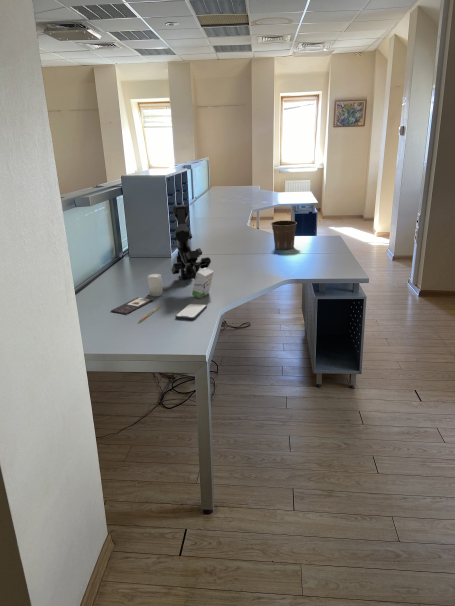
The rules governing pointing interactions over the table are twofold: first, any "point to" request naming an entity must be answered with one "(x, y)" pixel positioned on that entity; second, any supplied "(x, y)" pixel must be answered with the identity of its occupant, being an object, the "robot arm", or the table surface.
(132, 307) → the chocolate bar
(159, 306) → the pencil
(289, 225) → the plant pot
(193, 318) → the smartphone
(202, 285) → the ink box
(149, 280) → the white rounded cylinder
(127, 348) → the table surface
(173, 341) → the table surface
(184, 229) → the robot arm
